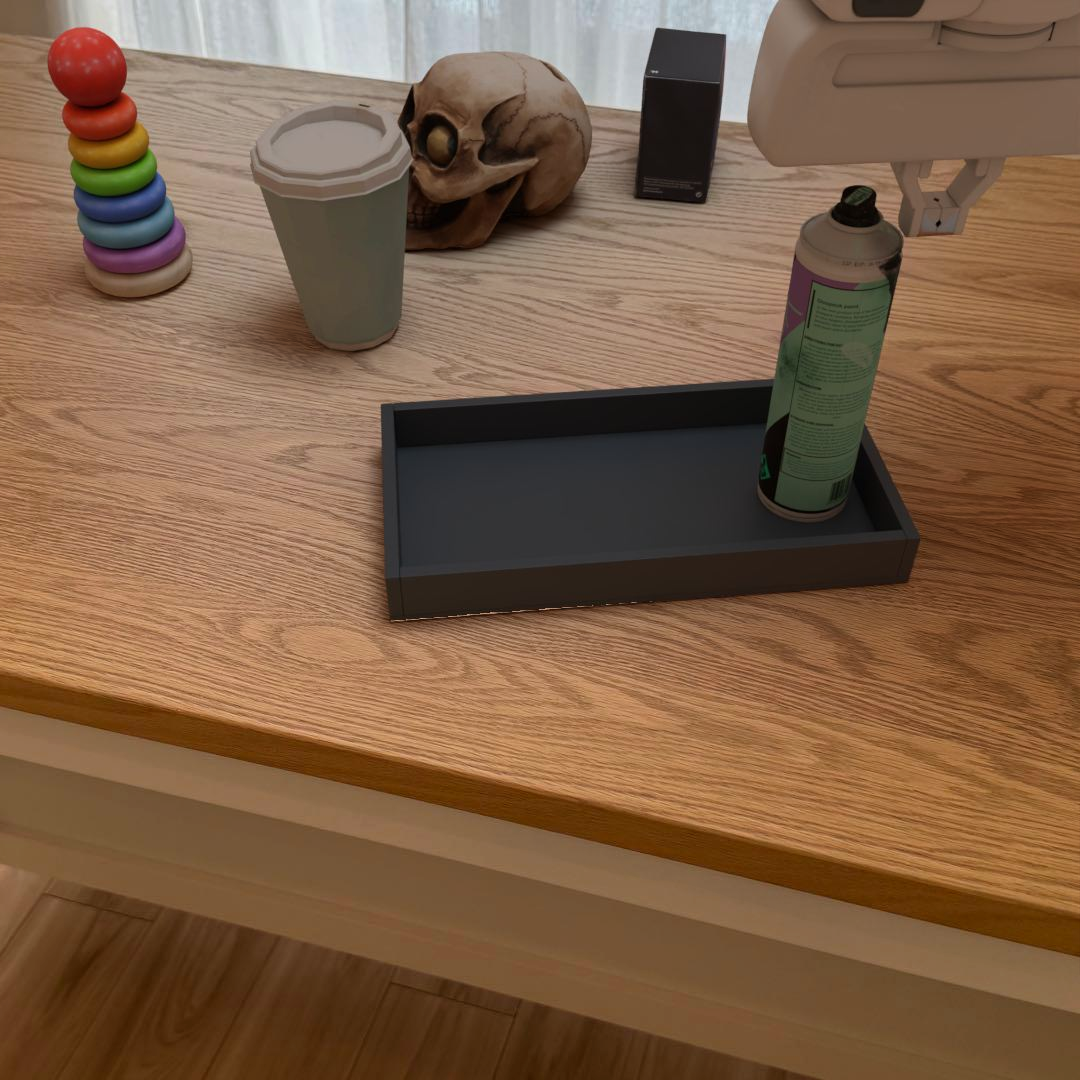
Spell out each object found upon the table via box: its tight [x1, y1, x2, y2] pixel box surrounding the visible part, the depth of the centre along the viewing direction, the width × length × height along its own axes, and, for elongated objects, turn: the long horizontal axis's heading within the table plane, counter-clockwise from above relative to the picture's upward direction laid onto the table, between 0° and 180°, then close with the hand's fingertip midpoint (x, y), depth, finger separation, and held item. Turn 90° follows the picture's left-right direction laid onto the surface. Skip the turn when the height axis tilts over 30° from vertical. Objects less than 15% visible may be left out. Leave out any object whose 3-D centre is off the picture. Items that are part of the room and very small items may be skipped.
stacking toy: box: [46, 26, 193, 298], centre depth 89 cm, size 8×8×19 cm
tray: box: [380, 378, 922, 622], centre depth 74 cm, size 30×16×4 cm, turn 96°
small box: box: [633, 27, 727, 203], centre depth 104 cm, size 11×6×10 cm, turn 171°
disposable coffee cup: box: [249, 99, 413, 352], centre depth 85 cm, size 11×11×15 cm
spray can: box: [757, 184, 905, 522], centre depth 69 cm, size 6×6×20 cm
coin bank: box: [396, 51, 593, 251], centre depth 99 cm, size 16×17×13 cm
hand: (928, 231), depth 64 cm, fingers closed
